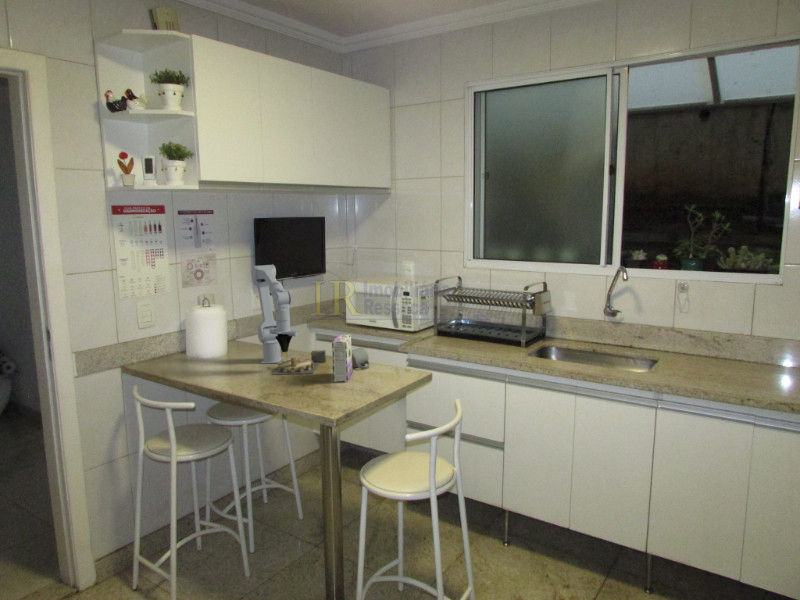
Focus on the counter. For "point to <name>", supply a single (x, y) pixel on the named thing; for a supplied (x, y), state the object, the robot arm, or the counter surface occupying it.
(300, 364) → the sprocket
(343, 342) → the candy box
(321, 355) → the banded gift box
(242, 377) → the counter surface
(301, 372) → the index plate
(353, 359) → the ceramic mug
